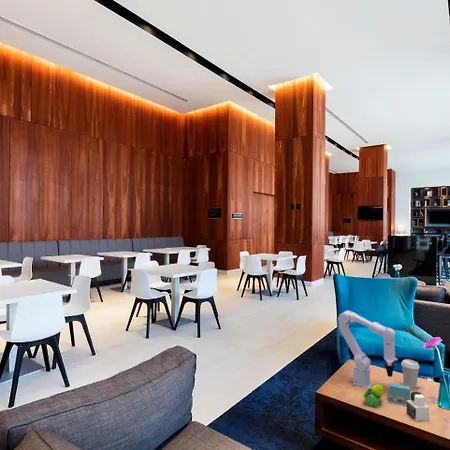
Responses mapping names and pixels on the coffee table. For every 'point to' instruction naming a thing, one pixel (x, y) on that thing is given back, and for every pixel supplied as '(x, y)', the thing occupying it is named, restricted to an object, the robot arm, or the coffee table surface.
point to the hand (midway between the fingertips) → (389, 373)
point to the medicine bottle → (417, 407)
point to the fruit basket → (373, 395)
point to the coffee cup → (410, 373)
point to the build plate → (396, 402)
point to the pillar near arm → (392, 398)
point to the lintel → (399, 390)
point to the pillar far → (404, 400)
